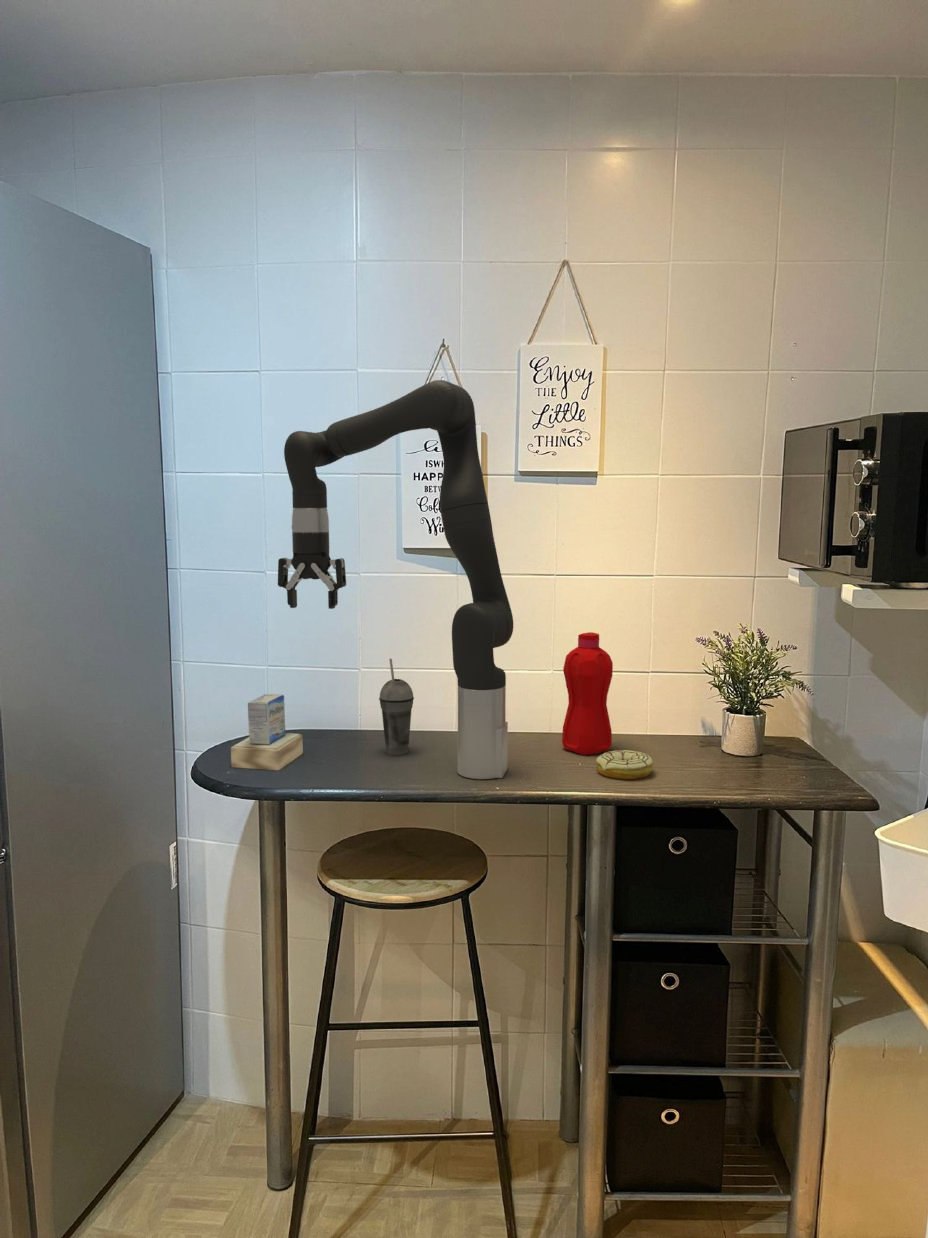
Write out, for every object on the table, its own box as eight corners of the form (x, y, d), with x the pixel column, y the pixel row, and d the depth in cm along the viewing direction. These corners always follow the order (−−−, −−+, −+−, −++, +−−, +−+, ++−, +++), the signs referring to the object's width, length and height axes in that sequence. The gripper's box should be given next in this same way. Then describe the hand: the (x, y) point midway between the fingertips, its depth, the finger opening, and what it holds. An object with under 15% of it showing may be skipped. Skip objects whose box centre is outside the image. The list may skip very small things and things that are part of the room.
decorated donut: (594, 765, 175) (594, 747, 174) (648, 766, 174) (648, 747, 173) (598, 781, 164) (599, 761, 164) (656, 782, 164) (656, 762, 163)
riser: (302, 753, 182) (302, 733, 182) (278, 770, 170) (278, 749, 170) (258, 750, 184) (257, 731, 184) (231, 767, 173) (230, 746, 172)
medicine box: (269, 745, 172) (268, 702, 171) (248, 744, 173) (247, 701, 172) (286, 735, 180) (284, 694, 179) (266, 734, 181) (264, 693, 180)
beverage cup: (419, 755, 181) (418, 660, 178) (385, 758, 178) (384, 662, 176) (408, 746, 188) (407, 654, 185) (375, 749, 185) (374, 656, 182)
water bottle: (580, 739, 193) (582, 627, 189) (617, 750, 184) (620, 633, 181) (550, 746, 187) (551, 631, 184) (586, 758, 178) (589, 637, 175)
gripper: (349, 529, 183) (350, 606, 185) (285, 529, 186) (288, 605, 188) (336, 530, 175) (338, 611, 178) (270, 530, 178) (273, 609, 180)
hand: (312, 608), depth 183 cm, fingers open, 8 cm apart
